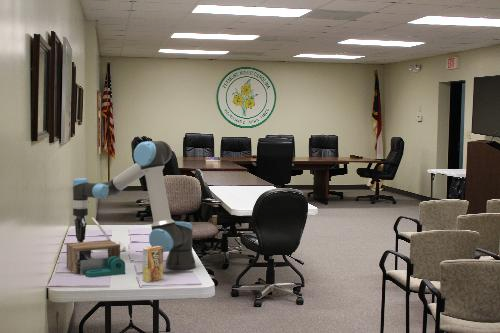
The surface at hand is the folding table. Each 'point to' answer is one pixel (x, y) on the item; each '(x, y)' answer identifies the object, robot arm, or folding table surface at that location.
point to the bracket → (109, 268)
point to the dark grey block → (90, 262)
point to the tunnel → (86, 246)
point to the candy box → (152, 263)
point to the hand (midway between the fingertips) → (80, 252)
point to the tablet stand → (108, 239)
